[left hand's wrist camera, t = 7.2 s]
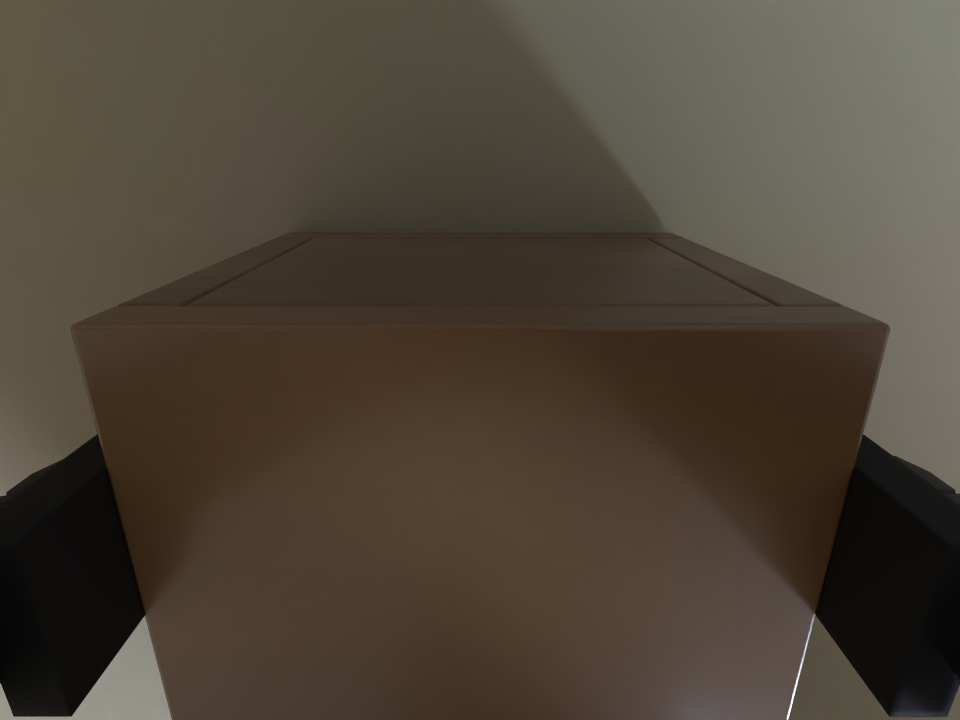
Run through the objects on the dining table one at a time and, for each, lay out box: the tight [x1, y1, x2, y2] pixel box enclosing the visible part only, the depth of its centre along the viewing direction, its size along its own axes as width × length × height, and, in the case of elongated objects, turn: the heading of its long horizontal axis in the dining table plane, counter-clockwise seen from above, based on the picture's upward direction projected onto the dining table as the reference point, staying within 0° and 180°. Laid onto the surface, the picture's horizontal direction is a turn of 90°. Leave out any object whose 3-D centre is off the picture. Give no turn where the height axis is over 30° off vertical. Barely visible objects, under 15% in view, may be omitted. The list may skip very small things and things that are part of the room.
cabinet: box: [71, 233, 890, 720], centre depth 15 cm, size 18×11×9 cm, turn 0°
